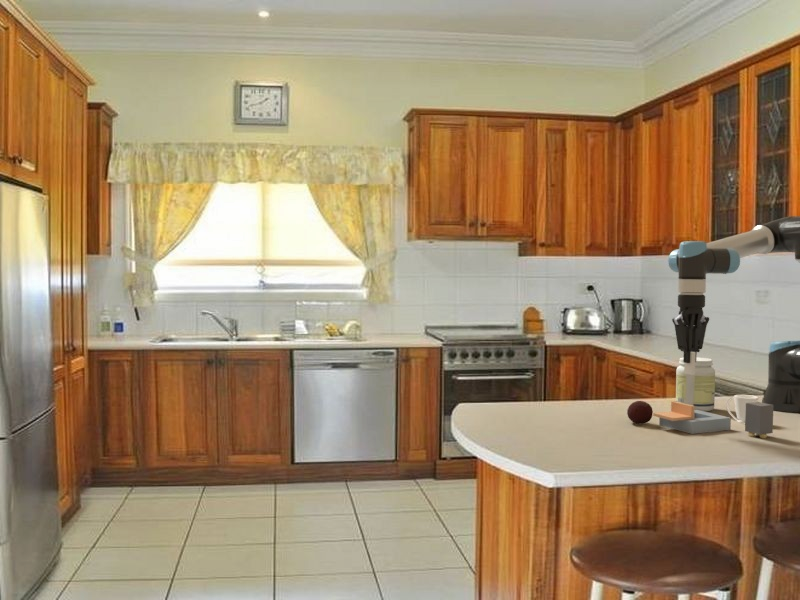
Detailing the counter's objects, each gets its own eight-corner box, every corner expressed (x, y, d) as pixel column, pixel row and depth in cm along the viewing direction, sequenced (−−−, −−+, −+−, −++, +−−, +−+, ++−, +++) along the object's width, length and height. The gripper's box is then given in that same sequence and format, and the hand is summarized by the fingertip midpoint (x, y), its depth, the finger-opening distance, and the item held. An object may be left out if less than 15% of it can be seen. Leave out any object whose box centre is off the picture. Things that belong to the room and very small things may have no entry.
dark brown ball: (653, 422, 235) (654, 399, 234) (650, 427, 228) (651, 404, 227) (628, 420, 238) (629, 397, 237) (625, 425, 231) (625, 402, 230)
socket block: (696, 421, 237) (697, 409, 237) (730, 429, 225) (730, 417, 225) (659, 424, 231) (659, 413, 231) (691, 433, 219) (692, 421, 219)
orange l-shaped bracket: (674, 413, 230) (674, 401, 230) (694, 418, 223) (694, 405, 223) (653, 415, 227) (653, 403, 227) (673, 420, 220) (673, 407, 219)
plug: (757, 433, 220) (758, 401, 220) (772, 437, 216) (773, 404, 215) (744, 435, 218) (745, 403, 218) (759, 438, 214) (760, 406, 213)
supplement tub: (717, 408, 259) (718, 358, 258) (710, 414, 249) (711, 362, 248) (679, 404, 266) (681, 355, 265) (671, 409, 255) (672, 359, 255)
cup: (748, 425, 231) (748, 399, 231) (719, 419, 240) (720, 394, 240) (762, 423, 235) (763, 397, 234) (734, 417, 243) (735, 392, 243)
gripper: (697, 293, 231) (695, 370, 232) (665, 293, 225) (663, 373, 226) (717, 294, 224) (715, 374, 225) (685, 294, 218) (683, 377, 219)
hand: (689, 373), depth 226 cm, fingers closed
